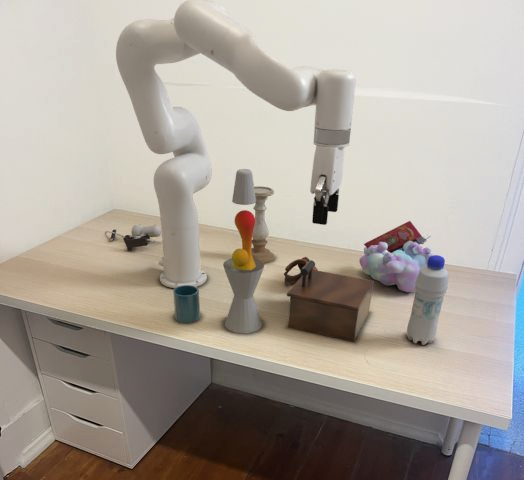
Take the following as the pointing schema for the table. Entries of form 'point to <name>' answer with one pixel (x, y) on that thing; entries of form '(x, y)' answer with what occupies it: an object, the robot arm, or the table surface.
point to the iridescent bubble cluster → (396, 257)
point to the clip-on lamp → (138, 235)
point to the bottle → (428, 300)
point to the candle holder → (261, 225)
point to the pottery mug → (293, 279)
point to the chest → (328, 318)
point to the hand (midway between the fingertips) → (325, 217)
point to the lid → (330, 288)
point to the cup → (186, 303)
